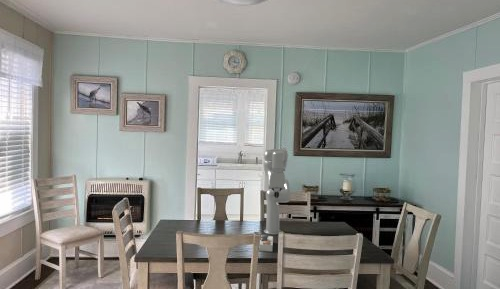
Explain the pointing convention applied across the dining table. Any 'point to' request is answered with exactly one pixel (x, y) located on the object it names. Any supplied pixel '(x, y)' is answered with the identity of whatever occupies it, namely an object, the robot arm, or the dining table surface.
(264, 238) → the middle button
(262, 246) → the panel
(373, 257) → the dining table surface
